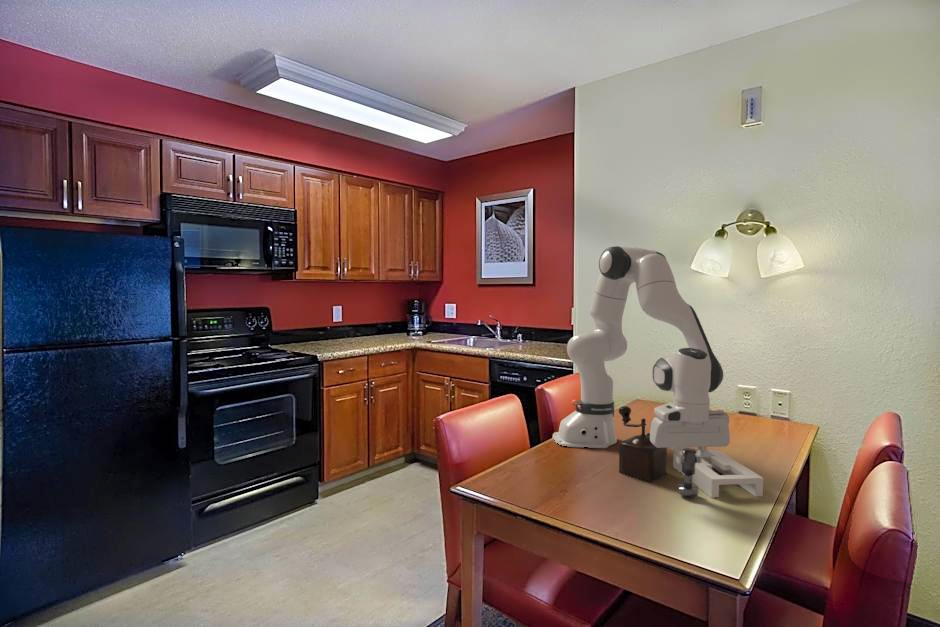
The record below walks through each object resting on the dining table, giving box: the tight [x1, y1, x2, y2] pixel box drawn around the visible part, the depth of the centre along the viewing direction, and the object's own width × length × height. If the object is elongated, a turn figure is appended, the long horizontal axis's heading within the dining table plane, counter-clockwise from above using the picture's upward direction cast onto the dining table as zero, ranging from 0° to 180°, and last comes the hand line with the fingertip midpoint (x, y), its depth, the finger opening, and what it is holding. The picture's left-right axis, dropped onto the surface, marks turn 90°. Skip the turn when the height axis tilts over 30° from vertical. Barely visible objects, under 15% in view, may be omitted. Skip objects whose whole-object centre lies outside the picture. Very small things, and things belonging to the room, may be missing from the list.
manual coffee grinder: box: [618, 405, 668, 483], centre depth 152 cm, size 16×11×18 cm
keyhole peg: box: [677, 447, 699, 498], centre depth 134 cm, size 5×5×12 cm
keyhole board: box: [672, 449, 764, 499], centre depth 145 cm, size 14×22×5 cm, turn 3°
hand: (688, 462), depth 134 cm, fingers closed on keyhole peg, 3 cm apart
